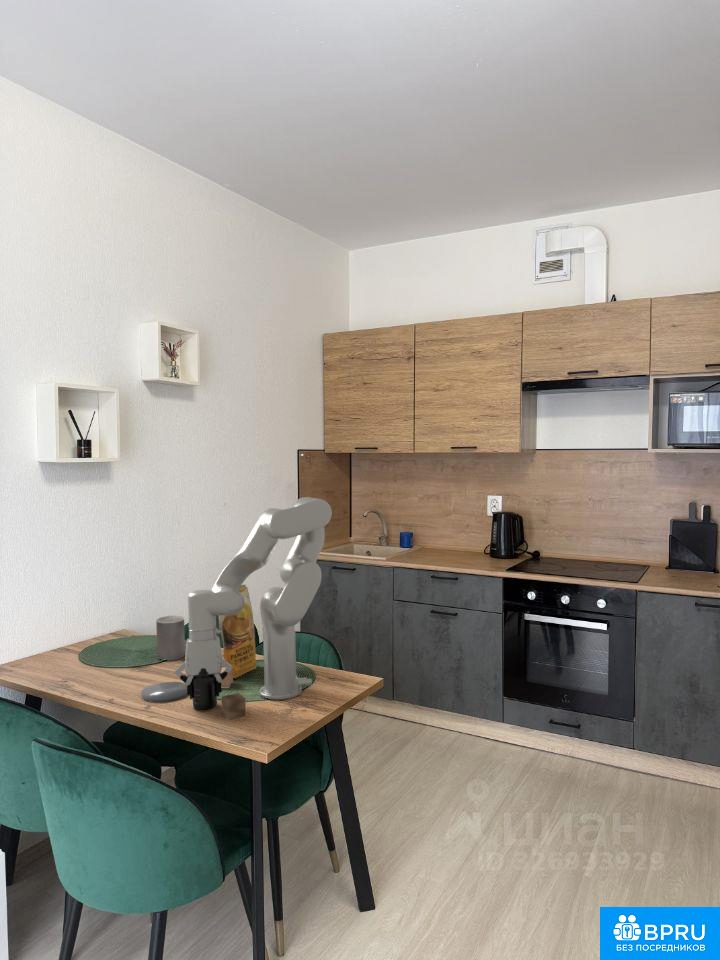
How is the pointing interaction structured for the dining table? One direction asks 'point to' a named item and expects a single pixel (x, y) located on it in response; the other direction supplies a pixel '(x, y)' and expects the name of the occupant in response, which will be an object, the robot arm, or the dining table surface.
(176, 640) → the pillar candle
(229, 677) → the terracotta block
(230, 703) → the walnut block
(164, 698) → the charcoal plate
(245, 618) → the pancake mix bag
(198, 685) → the supplement bottle
